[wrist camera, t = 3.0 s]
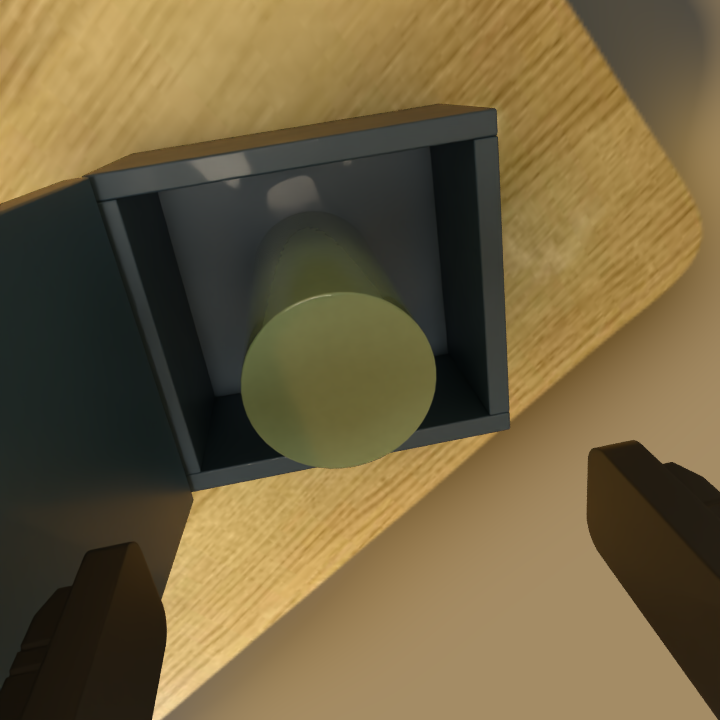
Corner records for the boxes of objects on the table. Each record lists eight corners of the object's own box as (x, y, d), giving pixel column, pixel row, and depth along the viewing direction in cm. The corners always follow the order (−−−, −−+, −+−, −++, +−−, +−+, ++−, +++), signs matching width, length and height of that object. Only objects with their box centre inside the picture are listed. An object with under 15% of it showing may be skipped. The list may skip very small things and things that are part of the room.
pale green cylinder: (365, 201, 25) (427, 275, 15) (385, 348, 28) (448, 492, 18) (240, 222, 24) (218, 313, 15) (273, 368, 27) (274, 528, 17)
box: (440, 103, 24) (497, 107, 18) (460, 358, 29) (510, 429, 23) (130, 153, 24) (79, 176, 17) (204, 407, 29) (185, 494, 22)
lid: (-502, 409, 5) (-595, 424, 5) (28, 1016, 10) (-20, 1022, 10) (89, 176, 17) (61, 180, 17) (194, 500, 22) (173, 503, 22)
